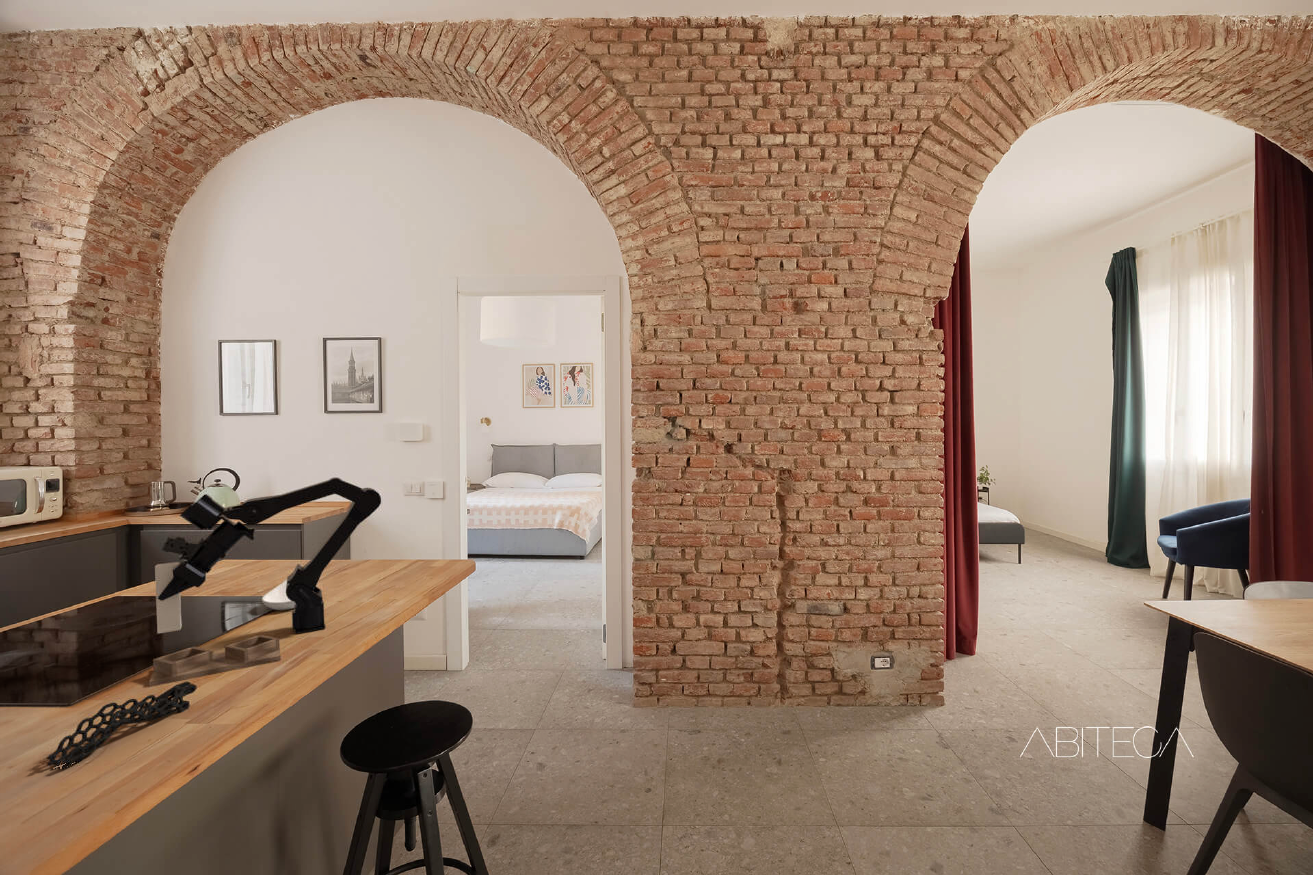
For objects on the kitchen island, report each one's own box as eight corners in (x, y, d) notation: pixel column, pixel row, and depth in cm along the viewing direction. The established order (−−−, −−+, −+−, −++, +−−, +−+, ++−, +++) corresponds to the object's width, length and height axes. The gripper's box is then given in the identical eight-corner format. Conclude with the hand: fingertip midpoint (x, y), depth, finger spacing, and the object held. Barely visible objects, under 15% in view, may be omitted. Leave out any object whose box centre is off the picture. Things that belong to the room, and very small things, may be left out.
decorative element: (70, 774, 90) (68, 735, 89) (41, 771, 90) (40, 732, 90) (203, 703, 112) (202, 672, 112) (179, 702, 113) (178, 671, 112)
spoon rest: (303, 612, 165) (302, 586, 165) (255, 616, 162) (254, 590, 162) (328, 589, 188) (327, 566, 188) (286, 592, 185) (285, 569, 185)
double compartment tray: (278, 646, 140) (278, 631, 139) (280, 660, 131) (280, 644, 131) (156, 669, 127) (155, 652, 127) (149, 686, 119) (149, 668, 119)
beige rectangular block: (181, 626, 139) (179, 561, 139) (180, 629, 137) (177, 564, 136) (159, 629, 137) (156, 564, 137) (157, 633, 135) (154, 567, 134)
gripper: (190, 516, 146) (132, 568, 140) (184, 527, 131) (118, 586, 125) (231, 544, 151) (177, 595, 145) (229, 558, 135) (168, 616, 129)
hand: (160, 597), depth 136 cm, fingers closed on beige rectangular block, 3 cm apart
